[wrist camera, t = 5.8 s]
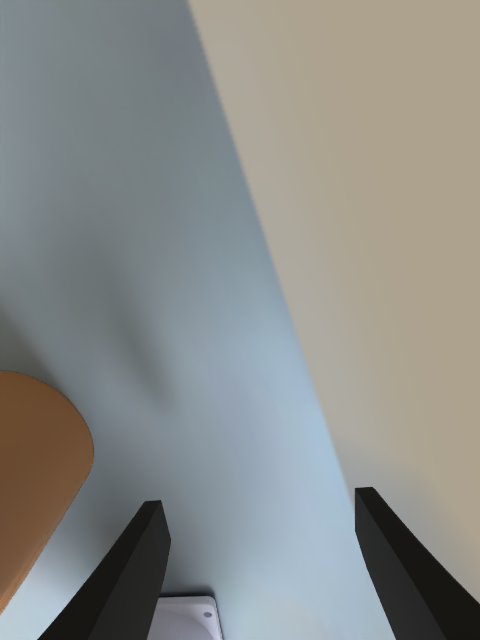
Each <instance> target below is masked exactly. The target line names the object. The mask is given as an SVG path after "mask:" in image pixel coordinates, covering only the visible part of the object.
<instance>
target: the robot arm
mask: <svg viewBox="0 0 480 640" xmlns="http://www.w3.org/2000/svg"><path fill="white" fill-rule="evenodd" d="M355 532H356V535H357V538H358V542H359V545H360V548H361V551H362V554H363V558H364V561H365V564H366V567H367V570H368V572H369V575H370V577H371V579H372V582H373V584H374V587H375V589H376V592H377V594H378V597H379V599H380V602H381V604H382V606H383V609H384V611H385V614H386V616H387V619H388V621H389V624H390V626H391V628H392V631H393V633H394V636H395V638H396V640H480V604H479V603H478V602H477V601H476V600H475V599H474V598H473V597H472V596H471V595H470V594H469V593H468V592H467V591H466V590H465V589H464V588H463V587H462V586H461V585H460V584H459V583H458V582H457V581H456V580H455V579H454V578H453V577H452V576H451V574H450V573H449V572H448V571H447V570H446V569H445V568H444V567H443V566H442V565H441V564H440V563H439V562H438V561H437V560H436V559H435V558H434V557H433V556H432V554H431V553H430V552H429V551H428V550H427V549H426V548H425V547H424V546H423V545H422V544H421V542H420V541H418V539H417V538H416V537H415V536H414V535H413V533H412V532H411V531H410V530H409V529H408V528H407V527H406V526H405V524H404V523H403V522H402V521H401V520H400V519H399V518H398V516H397V515H396V514H395V513H394V512H393V510H392V509H391V508H390V507H389V506H388V504H387V503H386V502H385V501H384V500H383V498H382V497H381V496H380V495H379V493H378V492H377V491H376V490H375V489H374V488H373V487H364V488H355ZM170 544H171V538H170V534H169V530H168V526H167V522H166V518H165V514H164V510H163V506H162V502H161V500H157V501H145V502H144V503H143V505H142V506H141V508H140V509H139V510H138V512H137V513H136V515H135V516H134V517H133V519H132V520H131V522H130V523H129V524H128V526H127V527H126V529H125V530H124V531H123V533H122V534H121V536H120V537H119V538H118V540H117V541H116V542H115V544H114V545H113V546H112V548H111V549H110V550H109V552H108V553H107V554H106V556H105V557H104V558H103V560H102V561H101V562H100V564H99V565H98V566H97V568H96V569H95V570H94V572H93V573H92V574H91V576H90V577H89V578H88V579H87V581H86V582H85V583H84V584H83V586H82V587H81V588H80V589H79V591H78V592H77V593H76V594H75V596H74V597H73V598H72V599H71V601H70V602H69V603H68V604H67V606H66V607H65V608H64V609H63V610H62V612H61V613H60V614H59V615H58V616H57V618H56V619H55V620H54V621H53V622H52V623H51V625H50V626H49V627H48V628H47V629H46V630H45V631H44V633H43V634H42V635H41V636H40V637H39V638H38V639H37V640H223V639H222V633H221V628H220V623H219V618H218V613H217V608H216V603H215V600H214V599H213V598H212V597H210V596H193V597H164V598H159V595H160V591H161V587H162V584H163V580H164V576H165V571H166V566H167V561H168V555H169V549H170Z"/></svg>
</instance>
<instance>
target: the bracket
mask: <svg viewBox="0 0 480 640" xmlns="http://www.w3.org/2000/svg"><path fill="white" fill-rule="evenodd" d="M93 457H94V447H93V441H92V437H91V434H90V431H89V428H88V426H87V424H86V422H85V420H84V419H83V417H82V416H81V414H80V413H79V411H78V410H77V409H76V408H75V406H74V405H73V404H72V403H71V402H70V401H69V400H68V399H67V398H65V397H64V396H63V395H62V394H61V393H59V392H58V391H57V390H55V389H54V388H52V387H50V386H48V385H47V384H45V383H43V382H41V381H39V380H37V379H35V378H33V377H30V376H27V375H24V374H20V373H16V372H10V371H0V615H1V614H2V612H3V611H4V609H5V608H6V606H7V605H8V603H9V602H10V600H11V599H12V597H13V596H14V594H15V593H16V592H17V590H18V589H19V587H20V586H21V584H22V583H23V581H24V580H25V578H26V577H27V575H28V574H29V572H30V570H31V569H32V567H33V565H34V564H35V562H36V560H37V559H38V557H39V555H40V554H41V552H42V550H43V549H44V547H45V546H46V544H47V542H48V541H49V539H50V537H51V536H52V534H53V532H54V531H55V529H56V527H57V526H58V524H59V522H60V521H61V519H62V517H63V516H64V514H65V513H66V511H67V509H68V508H69V506H70V504H71V503H72V501H73V499H74V498H75V496H76V494H77V493H78V491H79V489H80V488H81V486H82V485H83V483H84V481H85V480H86V478H87V476H88V474H89V472H90V470H91V467H92V464H93Z"/></svg>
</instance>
